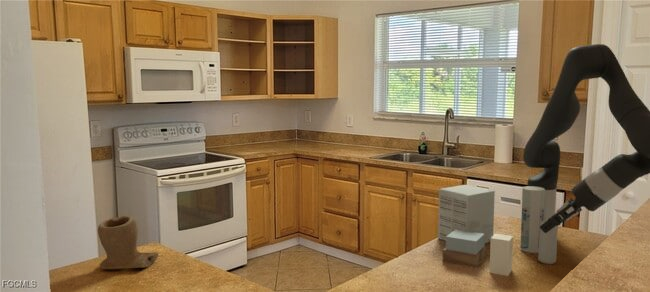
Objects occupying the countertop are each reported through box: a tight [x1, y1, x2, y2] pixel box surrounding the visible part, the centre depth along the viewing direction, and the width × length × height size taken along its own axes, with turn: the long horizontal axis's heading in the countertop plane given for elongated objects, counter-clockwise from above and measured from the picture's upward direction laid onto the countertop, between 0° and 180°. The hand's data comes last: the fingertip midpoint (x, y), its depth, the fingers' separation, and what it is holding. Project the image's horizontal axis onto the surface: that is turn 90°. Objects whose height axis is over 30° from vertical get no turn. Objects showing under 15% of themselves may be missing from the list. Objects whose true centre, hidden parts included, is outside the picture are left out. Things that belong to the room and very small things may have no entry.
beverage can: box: [537, 220, 559, 265], centre depth 150 cm, size 5×5×12 cm
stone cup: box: [97, 215, 159, 270], centre depth 147 cm, size 15×12×15 cm
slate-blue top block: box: [445, 229, 485, 255], centre depth 152 cm, size 9×9×4 cm
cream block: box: [489, 233, 514, 277], centre depth 142 cm, size 5×5×10 cm
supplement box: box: [437, 184, 496, 244], centre depth 171 cm, size 13×13×18 cm
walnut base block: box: [442, 245, 487, 268], centre depth 153 cm, size 10×10×4 cm
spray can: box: [519, 185, 545, 254], centre depth 160 cm, size 6×6×20 cm
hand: (546, 226), depth 134 cm, fingers open, 8 cm apart
